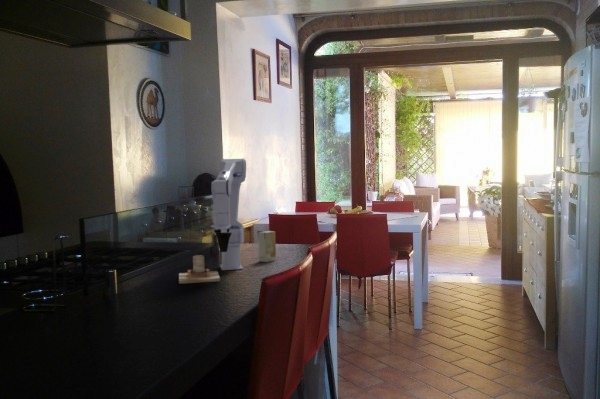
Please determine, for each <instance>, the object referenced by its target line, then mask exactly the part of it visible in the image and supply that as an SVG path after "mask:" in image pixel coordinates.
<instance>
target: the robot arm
mask: <svg viewBox="0 0 600 399" xmlns="http://www.w3.org/2000/svg"><path fill="white" fill-rule="evenodd" d="M219 170H220V171H219V173H218V175H217V177H216V179H214V180H213V181H211V185H210V186H211V187H210V188H211V194H212V197H211V198H212V201H213V219H214V222H213V223H214V224H212V225H210V228H214V229H213V232H214V233H215V235H216V242H217V244H218V248H219V250H220V252H221V264H219V266H220V269H221V271H231V270H232V271H233V270H243V265H242V264H241V263H242V262H241V246H242V244H244V243H245V227H244V225H243V224H242V223H241V222H240V221H239V219H238V218H239V216H238V215H239V206H240V205H239V203H240V202H239V201H240V193H241V192H240V191H241V186H242V183H243V182H245V181H246V177H247V161H246V159H245V158H244V157H243V158H221V160H220V163H219Z"/></svg>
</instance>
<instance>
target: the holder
mask: <svg viewBox="0 0 600 399" xmlns="http://www.w3.org/2000/svg"><path fill="white" fill-rule="evenodd" d="M220 281H221V277H220V275H219V272H218V270H210V269H209V268H206V269H205V273H193V269H187V272H179V273H178V284H195V283H196V284H197V283H198V284H199V283H211V282H214V283H215V282H220Z"/></svg>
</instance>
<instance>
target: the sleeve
mask: <svg viewBox="0 0 600 399" xmlns="http://www.w3.org/2000/svg"><path fill="white" fill-rule="evenodd" d="M192 270H193V273H205V255H201V254H199V255H197V254H196V255H193V256H192Z"/></svg>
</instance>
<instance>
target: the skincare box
mask: <svg viewBox="0 0 600 399" xmlns="http://www.w3.org/2000/svg"><path fill="white" fill-rule="evenodd" d="M276 242H277V241H276V231H274V230H273V231H272V230H266V231H265V230H264V231H259V232H258V261H259V262H263V263H269V262H273V261H276V260H277V255H276V254H277V253H276V252H277V250H276Z"/></svg>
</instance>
